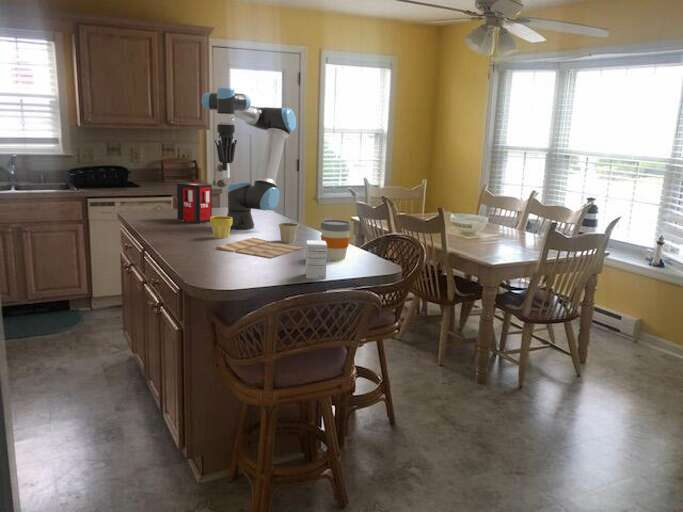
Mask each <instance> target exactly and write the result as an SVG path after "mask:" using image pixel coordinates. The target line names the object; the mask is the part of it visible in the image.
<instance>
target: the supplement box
mask: <svg viewBox="0 0 683 512" xmlns="http://www.w3.org/2000/svg"><path fill="white" fill-rule="evenodd" d="M305 241H306V242H305V278H306V279H318V280H319V279H320V280H321V279H322V280H323V279H324V280H325V279H327V260H328V259H327V243H326V241H321V240H311V239H308V240H305Z"/></svg>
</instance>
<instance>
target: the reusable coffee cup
mask: <svg viewBox="0 0 683 512" xmlns="http://www.w3.org/2000/svg"><path fill="white" fill-rule="evenodd" d="M320 230H321V234H320V241H326V243H327V260H328V259H329V260H328V261H343V259H344V260H345V259H346V256H347V255H346V254H347V250H348V248H349V245H350V244H349V243H350V239H351V235H350V233H351V231H352V223H351V221H348V220H347V221H346V220H343V219H342V220H340V219H326V220H322V221H321V223H320Z"/></svg>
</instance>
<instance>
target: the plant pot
mask: <svg viewBox="0 0 683 512" xmlns="http://www.w3.org/2000/svg"><path fill="white" fill-rule="evenodd" d="M232 222H233V218H232V217H228V216H227V215H212V217H210V222H209V224H210V227H211V230H212V235H213V239H214V240H215V239H226V238H227V239H228V238H229V235H230V232H231V229H230V228H231V225H232Z"/></svg>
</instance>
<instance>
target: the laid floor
mask: <svg viewBox="0 0 683 512" xmlns="http://www.w3.org/2000/svg"><path fill="white" fill-rule="evenodd" d="M304 249H306V246H301V245H295V244H290V243H283V242H275V241H270V242H269V243H265V244H261V245H257V246H253V247H250V248H246V249H242V250H238V251H235V252H234V253H235V254H242V255H248V256H255V257H258V258H259V257H260V258H265V259H274V258H277V257H281V256H285V255H287V254H290V253H293V252H297V251H301V250H304Z"/></svg>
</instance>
